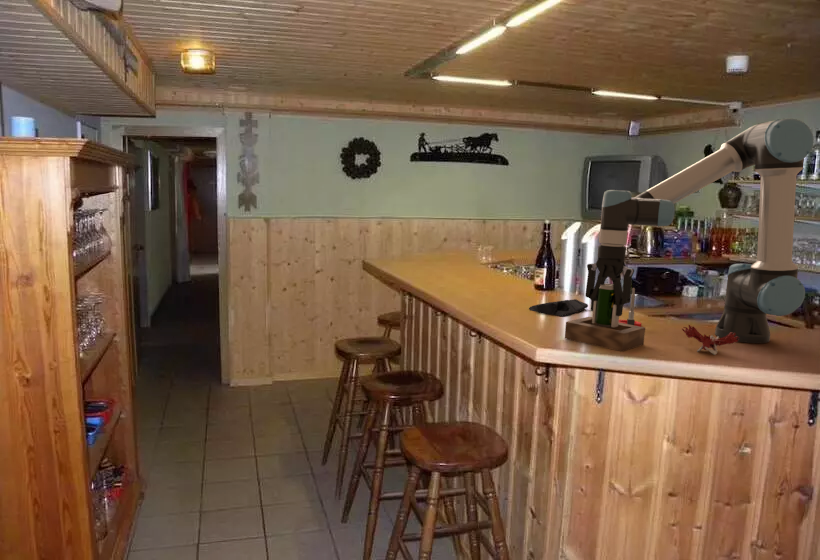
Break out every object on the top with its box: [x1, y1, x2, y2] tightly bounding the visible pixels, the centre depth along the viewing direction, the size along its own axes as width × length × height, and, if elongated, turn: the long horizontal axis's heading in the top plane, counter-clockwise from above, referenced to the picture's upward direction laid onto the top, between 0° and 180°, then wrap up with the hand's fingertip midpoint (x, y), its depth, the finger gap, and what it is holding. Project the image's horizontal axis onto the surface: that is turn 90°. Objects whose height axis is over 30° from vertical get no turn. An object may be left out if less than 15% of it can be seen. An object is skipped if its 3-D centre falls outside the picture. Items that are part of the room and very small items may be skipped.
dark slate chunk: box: [528, 298, 589, 317], centre depth 229 cm, size 15×22×5 cm
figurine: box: [681, 324, 739, 356], centre depth 176 cm, size 15×12×7 cm
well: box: [564, 316, 646, 352], centre depth 183 cm, size 18×13×5 cm
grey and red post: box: [619, 287, 642, 327], centre depth 208 cm, size 8×13×9 cm
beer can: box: [595, 282, 616, 327], centre depth 182 cm, size 5×5×12 cm
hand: (604, 324), depth 183 cm, fingers closed on beer can, 5 cm apart
